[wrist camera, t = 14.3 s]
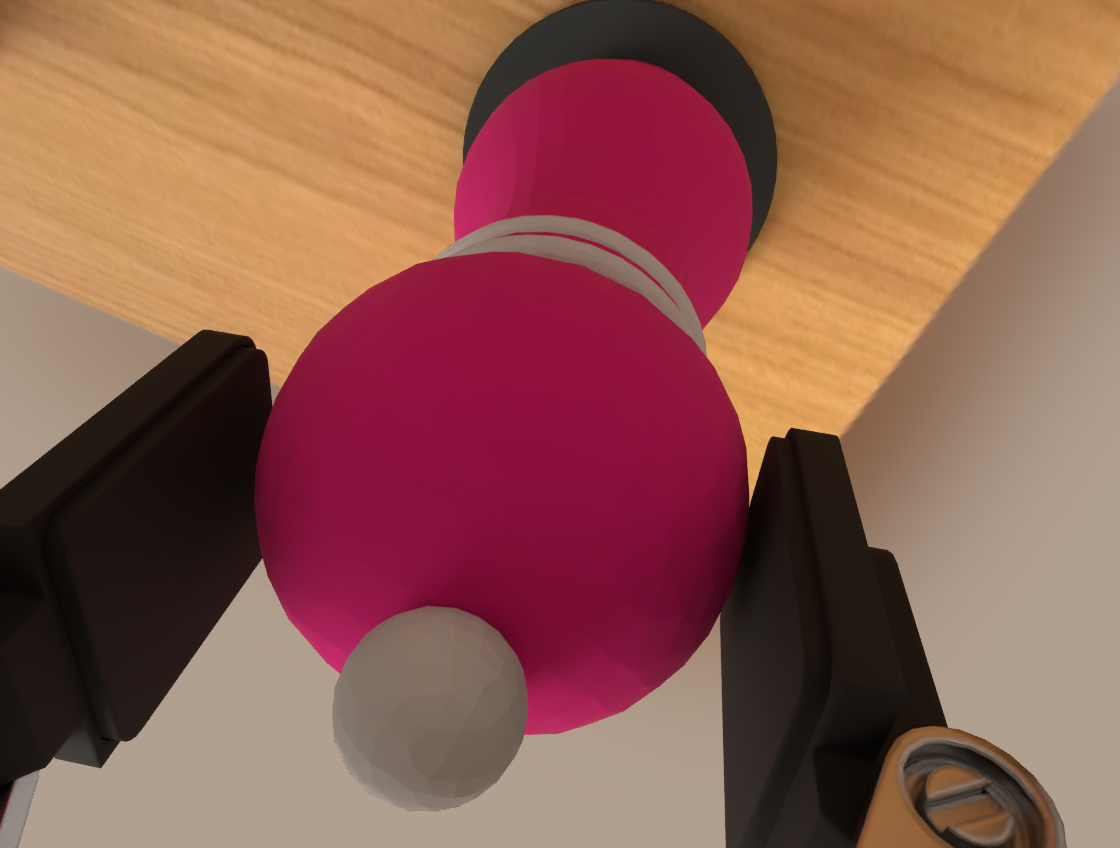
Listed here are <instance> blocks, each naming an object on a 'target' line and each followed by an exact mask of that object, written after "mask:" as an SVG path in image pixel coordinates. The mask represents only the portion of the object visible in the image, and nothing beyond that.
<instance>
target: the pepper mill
mask: <svg viewBox="0 0 1120 848" xmlns="http://www.w3.org/2000/svg"><path fill="white" fill-rule="evenodd" d="M752 214H753V213H752V188H751V182H750V178H749V174H748V170H747V166H746V162H745V159H744V155H743V153H742V151H741V149H740V147H739V145H738V143H737V141H736V139H735V137H734V135H733V132H732V130H731V129H730V127H729V126H728V125H727V123H726V122H725V121H724V120H723V118H722V117H721V116H720V114H719V113H718V112H717V111H716V109H715V108H714V107H713V105H712V104H710V103H709V102H708V101H707V100H706V99H705V98H704V97H703V96H702V95H700V94H699V93H698V92H697V91H696V90H695V89H694V88H692V87H691V86H690V85H689V84H688V83H686V82H685V81H683V80H682V79H681V78H679V77H678V76H676V75H675V74H673V73H671V72H669V71H667V70H665V69H663V68H661V67H659V66H656V65H652V64H649V63H646V62H641V61H636V60H627V59H593V60H585V61H579V62H572V63H569V64H566V65H563V66H560V67H557V68H554V69H551V70H548V71H546V72H544V73H542V74H540V75H539V76H537V77H535V78H533V79H531V80H529V81H527V82H526V83H524V84H523V85H522V86H521V87H519V88H518V89H517V90H515V91H514V92H513V93H511V94H510V95H509V96H508V97H507V98H506V99H505V100H504V101H503V102H502V103H501V104H500V105H499V106H498V107H497V108H496V109H495V111H494V112H493V113H492V114H491V116H490V117H489V119H488V120H487V122H486V123H485V125H484V126H483V128H482V129H481V130H480V132H479V134H478V135H477V137H476V139H475V141H474V142H473V144H472V146H471V147H470V149H469V151H468V154H467V157H466V160H465V163H464V166H463V169H462V171H461V174H460V177H459V180H458V183H457V190H456V198H455V206H454V226H455V242H454V243H453V244H452V245H450V246H449V247H448V248H446V249H445V250H444V251H443V252H441V253H440V254H439V255H438V256H437V257H436V258H435V259H434V260H432V261H428V262H423V263H419V264H416V265H414V266H412V267H410V268H408V269H406V270H404V271H402V272H400V273H398V274H396V275H395V276H393V277H391V278H389V279H387V280H385V281H383V282H381V283H379V284H377V285H375V286H373V287H371V288H369V289H368V290H367V291H366V292H364V293H363V294H362V295H360V296H359V297H358V298H356V299H355V300H354V301H352V302H351V303H350V304H348V305H347V306H346V307H345V308H343V309H342V310H341V311H340V312H339V313H338V314H337V315H336V316H335V317H333V318H332V319H331V320H330V321H329V322H328V323H327V324H326V325H325V326H324V327H323V328H322V329H320V330H319V331H318V332H317V334H316V335H315V336H314V338H313V339H312V341H311V342H310V343H309V345H308V346H307V347H306V349H305V350H304V352H303V353H302V354H301V356H300V357H299V359H298V360H297V362H296V364H295V366H294V367H293V369H292V371H291V373H290V374H289V376H288V378H287V380H286V381H285V383H284V385H283V387H282V388H281V390H280V392H279V394H278V395H277V397H276V399H275V402H274V405H273V408H272V410H271V413H270V416H269V419H268V421H267V424H266V428H265V431H264V435H263V438H262V442H261V446H260V450H259V455H258V460H257V465H256V475H255V491H254V509H255V516H256V523H257V529H258V536H259V543H260V550H261V554H262V557H263V561H264V564H265V568H266V571H267V575H268V578H269V580H270V581H271V584H272V586H273V588H274V590H275V592H276V594H277V596H278V598H279V601H280V603H281V605H282V607H283V609H284V611H285V613H286V615H287V617H288V619H289V620H290V621H291V622H292V623H293V625H295V627H296V628H297V629H298V630H299V631H300V632H301V634H302V635H303V636H304V637H305V638H306V639H307V641H309V643H310V644H311V645H312V646H313V647H314V649H315V650H316V651H317V652H318V653H319V654H320V655H321V657H322V658H323V659H324V660H325V661H326V662H327V663H328V664H329V665H330V666H331V667H332V668H334V669H335V670H336V671H337V672H339V673H340V676H339V679H338V681H337V684H336V686H335V691H334V700H333V730H334V741H335V743H336V745H337V748H338V750H339V752H340V754H341V756H342V759H343V761H344V763H345V765H346V767H347V769H348V770H349V772H350V774H351V775H352V776H353V777H354V778H355V779H356V780H357V781H358V782H359V783H360V784H361V786H362V787H363V788H364V789H365V790H366V791H367V792H368V793H369V794H371V795H373V796H375V797H377V798H379V799H381V800H383V801H386V802H388V803H390V804H392V805H394V806H397V807H400V808H402V809H405V810H408V811H440V810H445V809H450V808H454V807H459V806H461V805H463V804H465V803H467V802H469V801H471V800H473V799H475V798H477V797H478V796H480V794H482V793H483V792H484V791H486V790H487V789H488V788H490V787H491V786H492V785H493V784H494V783H496V782H497V781H498V780H499V778H500V777H501V775H502V774H503V773H504V771H505V770H506V769H507V767H508V766H509V764H510V763H511V762H512V760H513V759H514V757H515V756H516V754H517V752H518V749H519V747H520V745H521V743H522V740H523V736H524V735H533V734H558V733H562V732H565V731H568V730H572V729H575V728H578V727H581V726H585V725H588V724H591V723H594V722H596V721H599V720H601V719H604V718H607V717H610V716H612V715H615V714H618V713H620V712H623V711H625V710H626V709H628V708H629V707H630V706H632V705H633V704H635V703H636V702H637V701H639V700H640V699H642V698H643V697H645V696H646V695H648V694H649V693H650V692H652V691H653V690H655V689H656V688H658V687H659V686H660V685H661V684H662V683H664V682H665V681H666V680H667V679H668V678H670V677H671V676H672V675H673V674H674V673H675V672H677V671H678V670H679V669H680V668H681V667H683V666H684V665H685V663H686V662H687V661H688V660H689V658H690V657H691V656H692V655H693V654H694V652H695V651H696V650H697V649H698V647H699V646H700V645H701V644H702V642H703V641H704V640H705V639H706V637H707V636H708V635H709V633H710V631H711V629H712V627H713V626H714V623H715V622H716V620H717V618H718V616H719V614H720V612H721V610H722V608H723V606H724V605H725V603H726V601H727V599H728V597H729V595H730V593H731V591H732V589H733V586H734V582H735V579H736V575H737V572H738V568H739V565H740V561H741V557H742V554H743V550H744V546H745V543H746V539H747V535H748V514H749V484H748V469H747V453H746V445H745V441H744V437H743V434H742V430H741V426H740V422H739V418H738V415H737V413H736V411H735V409H734V407H733V405H732V403H731V401H730V398H729V396H728V394H727V392H726V390H725V388H724V386H723V384H722V382H721V380H720V378H719V376H718V374H717V372H716V370H715V368H714V366H713V365H712V364H711V362H710V361H709V360H708V358H707V355H706V343H705V339H704V335H703V331H702V330H703V328H704V327H705V326H706V325H707V324H708V322H709V321H710V320H711V319H712V318H713V316H714V315H715V314H716V313H717V311H718V310H719V309H720V308H721V307H722V305H723V304H724V303H725V301H726V299H727V298H728V296H729V294H730V293H731V291H732V289H733V287H734V286H735V284H736V282H737V280H738V278H739V275H740V272H741V269H742V266H743V263H744V260H745V257H746V254H747V251H748V244H749V238H750V231H751V223H752Z"/></svg>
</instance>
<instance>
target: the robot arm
mask: <svg viewBox="0 0 1120 848" xmlns="http://www.w3.org/2000/svg"><path fill="white" fill-rule="evenodd" d="M272 408H273V407H272V398H271V387H270V377H269V367H268V360H267V356H266V354H265V352H264V351H262V350H259V349H256V346H255V344H254V342H253V340H252V339H251V338H250V337H248V336H242V335H236V334H230V333H224V332H218V331H213V330H202V331H200V332H198V333H197V334H196V335H195V336H193V337H192V338H191V339H190V340H188V341H187V342H186V343H184V344H183V345H182V346H181V347H179V348H178V349H177V350H176V351H174V352H173V353H172V354H171V355H169V356H168V357H167V358H166V359H164V360H163V361H162V362H161V363H159V364H158V365H157V366H155V367H154V368H153V369H152V370H150V371H149V372H148V373H147V374H146V375H144V376H143V377H142V378H140V379H139V380H138V381H136V382H135V383H134V384H133V385H131V386H130V387H129V388H128V389H127V390H125V391H124V392H123V393H121V394H120V395H119V396H118V397H116V398H115V399H114V400H113V401H111V402H110V403H109V404H107V405H106V406H105V407H104V408H102V409H101V410H100V411H99V412H97V413H96V414H95V415H94V416H92V417H91V418H90V419H89V420H87V421H86V422H85V423H83V424H82V425H81V426H80V427H78V428H77V429H76V430H75V431H73V432H72V433H71V434H70V435H69V436H67V437H66V438H65V439H63V440H62V441H61V442H60V443H58V444H57V445H56V446H54V447H53V448H52V449H51V450H49V451H48V452H47V453H46V454H44V455H43V456H42V457H41V458H39V459H38V460H37V461H36V462H34V463H33V464H32V465H31V466H29V467H28V468H27V469H26V470H24V471H23V472H22V473H20V474H19V475H18V476H17V477H15V478H14V479H13V480H12V481H10V482H9V483H8V484H6V485H5V486H4V487H3V488H2V489H0V848H18V846H19V843H20V839H21V836H22V833H23V829H24V826H25V823H26V819H27V815H28V812H29V809H30V806H31V802H32V799H33V795H34V792H35V788H36V785H37V782H38V778H39V770H40V769H43V768H45V767H46V766H47V765H48V764H49V763H50V761H51V760H52V759H53V757H55V758H56V759H60V760H64V761H69V762H74V763H79V764H83V765H88V766H93V767H98V768H101V767H102V766H103V765H104V763H105V762H106V761H107V759H108V758H109V756H110V755H111V754H112V752H113V751H114V749H115V748H116V747H117V745H118V744H119V742H120V741H126V742H127V741H130V740H132V739H133V738H134V737H136V736H137V735H138V733H139V732H140V731H141V730H142V728H143V727H144V726H145V724H146V723H147V721H148V720H149V719H150V717H151V716H152V714H153V713H154V711H155V710H156V708H157V707H158V706H159V704H160V703H161V701H162V700H163V699H164V697H165V696H166V694H167V693H168V692H169V690H170V689H171V687H172V686H173V684H174V683H175V682H176V680H177V679H178V677H179V676H180V674H181V673H182V672H183V670H184V669H185V667H186V666H187V665H188V663H189V662H190V660H191V659H192V657H193V656H194V655H195V653H196V652H197V650H198V649H199V648H200V646H201V645H202V643H203V642H204V640H205V639H206V638H207V636H208V635H209V633H210V632H211V630H212V629H213V628H214V626H215V625H216V623H217V622H218V621H219V619H220V618H221V616H222V615H223V613H224V612H225V611H226V609H227V608H228V606H229V605H230V603H231V602H232V601H233V599H234V598H235V596H236V595H237V593H238V592H239V591H240V589H241V588H242V586H243V585H244V584H245V582H246V581H247V579H248V578H249V576H250V575H251V574H252V572H253V571H254V569H255V568H256V567H257V565H258V564H259V562H260V561H261V559H262V558H263V557H262V554H261V550H260V543H259V536H258V529H257V523H256V516H255V509H254V491H255V475H256V465H257V460H258V455H259V450H260V446H261V442H262V438H263V435H264V431H265V428H266V424H267V421H268V419H269V416H270V413H271V410H272ZM720 634H721V635H720V636H721V671H722V672H721V675H722V713H723V750H724V751H723V752H724V753H723V754H724V792H725V828H726V830H725V832H726V848H1067V847H1066V839H1065V831H1064V824H1063V822H1062V820H1061V818H1060V815H1059V813H1058V811H1057V809H1056V807H1055V804H1054V802H1053V800H1052V799H1051V797H1050V796H1049V795H1048V794H1047V792H1046V791H1045V790H1044V788H1043V787H1042V786H1041V785H1040V783H1039V782H1038V781H1037V779H1036V778H1035V777H1034V775H1032V774H1031V773H1030V772H1029V771H1028V770H1027V769H1026V768H1024V767H1023V766H1022V765H1021V764H1020V763H1019V762H1018V761H1017V760H1015V759H1014V758H1013V757H1012V756H1011V755H1009V754H1008V753H1006V752H1004V751H1003V750H1001V749H999V748H998V747H996V746H994V745H993V744H991V743H990V742H988V741H987V740H985V739H982V738H980V737H977V736H974V735H972V734H969V733H966V732H964V731H961V730H958V729H951V728H948V726H947V723H946V720H945V717H944V713H943V710H942V707H941V704H940V701H939V697H938V694H937V691H936V687H935V684H934V681H933V678H932V675H931V671H930V668H929V665H928V662H927V659H926V655H925V652H924V649H923V646H922V642H921V639H920V636H919V632H918V629H917V626H916V623H915V619H914V616H913V613H912V610H911V606H910V603H909V600H908V597H907V594H906V590H905V587H904V584H903V581H902V577H901V574H900V571H899V568H898V565H897V562H896V560H895V558H894V556H893V554H892V553H891V552H889V551H888V550H884V549H879V548H873V547H868V544H867V540H866V537H865V533H864V529H863V526H862V522H861V519H860V514H859V511H858V507H857V503H856V500H855V496H854V492H853V489H852V485H851V481H850V477H849V474H848V470H847V467H846V463H845V459H844V455H843V451H842V448H841V444H840V440H839V438H838V436H836V435H831V434H825V433H819V432H813V431H807V430H801V429H795V428H791V429H790V430H789V431H788V433H787V434H786V437H785V438H779V437H774V436H772V437H771V438H770V440H769V442H768V445H767V448H766V452H765V455H764V459H763V462H762V465H761V469H760V472H759V476H758V479H757V482H756V486H755V489H754V493H753V496H752V499H751V503H750V506H749V514H748V535H747V539H746V543H745V546H744V550H743V554H742V557H741V561H740V565H739V568H738V572H737V575H736V579H735V582H734V586H733V589H732V591H731V593H730V595H729V597H728V599H727V601H726V603H725V605H724V606H723V608H722V610H721V615H720Z"/></svg>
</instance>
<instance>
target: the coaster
mask: <svg viewBox="0 0 1120 848" xmlns="http://www.w3.org/2000/svg"><path fill="white" fill-rule="evenodd" d="M593 59H627V60H636V61H641V62H646V63H649V64H652V65H656V66H659V67H661V68H663V69H665V70H667V71H669V72H671V73H673V74H675V75H676V76H678V77H679V78H681V79H682V80H683V81H685V82H686V83H688V84H689V85H690V86H691V87H692V88H694V89H695V90H696V91H697V92H698V93H699V94H700V95H702V96H703V97H704V98H705V99H706V100H707V101H708V102H709V103H710V104H712V105H713V107H714V108H715V109H716V111H717V112H718V113H719V114H720V116H721V117H722V118H723V120H724V121H725V122H726V123H727V125H728V126H729V127H730V129H731V130H732V132H733V135H734V137H735V139H736V141H737V143H738V145H739V147H740V149H741V151H742V153H743V155H744V159H745V162H746V166H747V170H748V174H749V178H750V182H751V188H752V213H753V214H752V223H751V231H750V238H749V244H748V251H749V250H750V248H751V246H752V245H753V243H754V242H755V240H756V238H757V237H758V235H759V232H760V230H761V228H762V226H763V224H764V222H765V220H766V217H767V214H768V211H769V208H770V205H771V201H772V198H773V193H774V187H775V182H776V173H777V146H776V134H775V129H774V125H773V120H772V116H771V112H770V109H769V106H768V104H767V101H766V98H765V96H764V93H763V90H762V88H761V86H760V84H759V82H758V80H757V79H756V77H755V75H754V73H753V71H752V69H751V68H750V66H749V65H748V64H747V62H746V61H745V60H744V58H743V57H742V56H741V54H740V53H739V52H738V50H737V49H736V48H735V47H734V46H733V45H732V44H731V43H730V42H729V41H728V40H727V39H726V38H725V37H724V36H723V35H722V34H720V33H719V32H718V31H716V30H715V29H714V28H712V27H711V26H710V25H709V24H707V23H706V22H705V21H703V20H701V19H699V18H697V17H696V16H694V15H692V14H690V13H688V12H686V11H685V10H682V9H679V8H676V7H674V6H671V5H668V4H666V3H662V2H658V1H653V0H590V1H586V2H582V3H578V4H574V5H572V6H569V7H567V8H564V9H562V10H560V11H557V12H555V13H553V14H551V15H549V16H548V17H546V18H544V19H542V20H541V21H539V22H537V23H536V24H534V25H532V26H531V27H530V28H529V29H527V30H526V31H525V32H523V33H522V34H521V35H520V36H518V37H517V38H516V39H515V40H514V41H513V42H512V43H511V44H510V45H509V46H508V47H507V48H506V49H505V50H504V51H503V52H502V53H501V54H500V56H499V57H498V59H497V60H496V61H495V63H494V64H493V65H492V67H491V68H490V70H489V71H488V72H487V74H486V76H485V78H484V80H483V82H482V84H481V85H480V87H479V89H478V91H477V94H476V96H475V99H474V102H473V104H472V107H471V110H470V113H469V117H468V121H467V126H466V130H465V137H464V147H463V166H464V163H465V160H466V157H467V154H468V151H469V149H470V147H471V146H472V144H473V142H474V141H475V139H476V137H477V135H478V134H479V132H480V130H481V129H482V128H483V126H484V125H485V123H486V122H487V120H488V119H489V117H490V116H491V114H492V113H493V112H494V111H495V109H496V108H497V107H498V106H499V105H500V104H501V103H502V102H503V101H504V100H505V99H506V98H507V97H508V96H509V95H510V94H511V93H513V92H514V91H515V90H517V89H518V88H519V87H521V86H522V85H523V84H524V83H526V82H527V81H529V80H531V79H533V78H535V77H537V76H539V75H540V74H542V73H544V72H546V71H548V70H551V69H554V68H557V67H560V66H563V65H566V64H569V63H572V62H579V61H585V60H593ZM748 251H747V253H748Z"/></svg>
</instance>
